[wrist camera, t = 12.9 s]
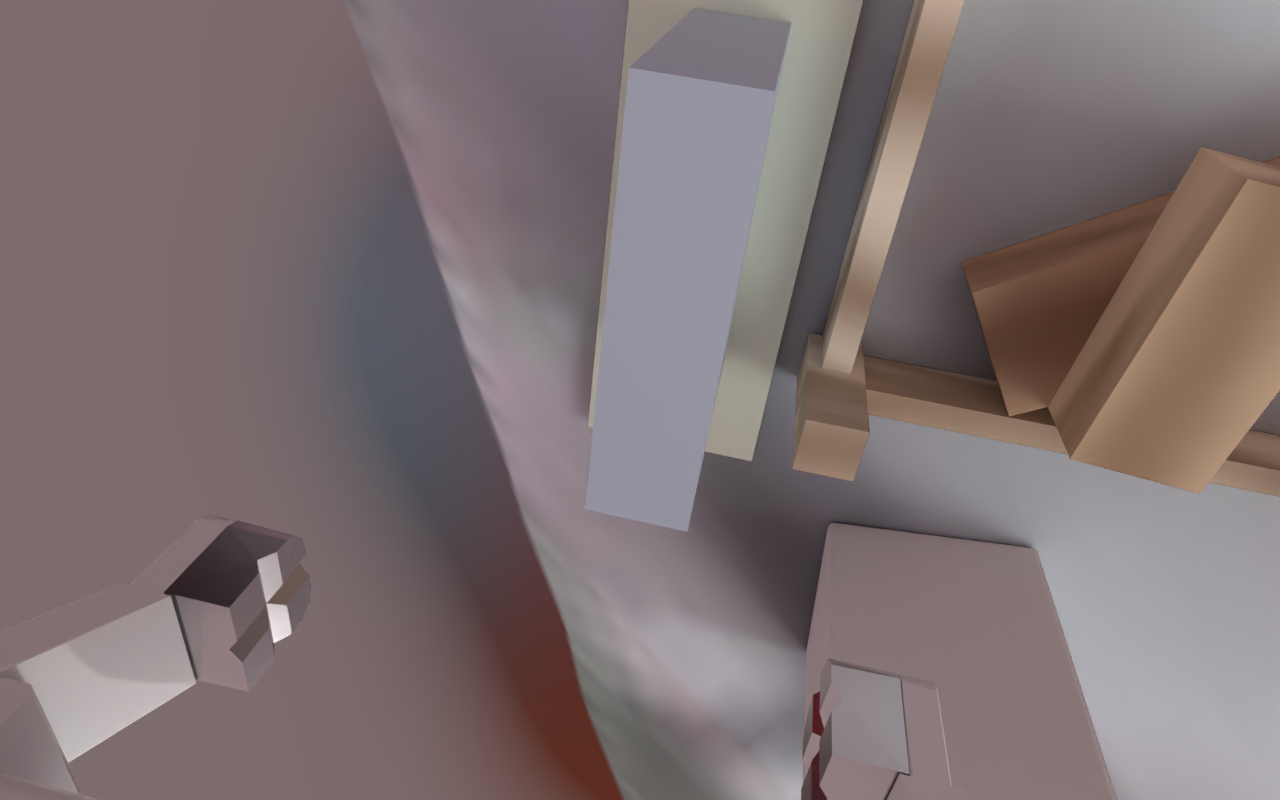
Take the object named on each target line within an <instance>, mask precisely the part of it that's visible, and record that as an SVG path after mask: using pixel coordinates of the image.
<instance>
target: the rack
mask: <svg viewBox="0 0 1280 800" xmlns="http://www.w3.org/2000/svg"><path fill="white" fill-rule="evenodd" d="M964 1H965V0H914V2H913V6H912V10H911V13H910V17H909V21H908V24H907V28H906V32H905V35H904V39H903V43H902V46H901V50H900V54H899V57H898V61H897V64H896V68H895V72H894V75H893V79H892V83H891V86H890V90H889V94H888V97H887V101H886V105H885V108H884V112H883V116H882V119H881V123H880V127H879V130H878V134H877V138H876V141H875V145H874V149H873V152H872V156H871V160H870V163H869V167H868V170H867V174H866V178H865V181H864V185H863V189H862V192H861V196H860V200H859V203H858V207H857V211H856V214H855V218H854V222H853V225H852V229H851V233H850V236H849V240H848V244H847V247H846V251H845V255H844V258H843V262H842V266H841V269H840V273H839V276H838V280H837V284H836V287H835V291H834V295H833V298H832V302H831V306H830V309H829V313H828V317H827V320H826V324H825V328H824V331H823V335H818V334H813V333H809V335H808V339H807V343H806V347H805V351H804V354H803V358H802V362H801V366H800V370H799V374H798V377H797V395H796V413H795V431H794V448H793V466H792V469H795V470H800V471H805V472H809V473H814V474H819V475H824V476H828V477H833V478H838V479H843V480H848V481H852V482H853V480H854V477H855V474H856V471H857V468H858V466H859V463H860V460H861V457H862V454H863V451H864V448H865V445H866V442H867V439H868V436H869V433H870V431H869V419H868V414H869V415H874V416H879V417H884V418H889V419H894V420H899V421H904V422H909V423H914V424H919V425H924V426H929V427H934V428H939V429H944V430H949V431H954V432H959V433H964V434H969V435H974V436H979V437H984V438H989V439H994V440H999V441H1004V442H1009V443H1014V444H1019V445H1024V446H1029V447H1034V448H1039V449H1044V450H1049V451H1054V452H1059V453H1064V454H1068V453H1067V450H1066V448H1065V446H1064V443H1063V441H1062V439H1061V436H1060V434H1059V432H1058V429H1057V427H1056V425H1055V422H1054V420H1053V418H1052V415H1051V413H1050V411H1049V408H1048V407H1045V408H1041V409H1037V410H1034V411H1030V412H1026V413H1022V414H1018V415H1014V416H1010V417H1009V415H1008V412H1007V409H1006V406H1005V403H1004V400H1003V398H1002V395H1001V392H1000V389H999V386H998V383H997V381H994V380H989V379H984V378H979V377H973V376H968V375H963V374H958V373H953V372H947V371H942V370H937V369H932V368H927V367H922V366H916V365H911V364H906V363H901V362H896V361H890V360H885V359H880V358H875V357H870V356H865V355H863V346H862V343H860V341H861V338H862V335H863V332H864V328H865V325H866V322H867V319H868V315H869V312H870V309H871V305H872V302H873V299H874V296H875V292H876V289H877V286H878V282H879V279H880V276H881V273H882V269H883V266H884V263H885V260H886V256H887V253H888V250H889V246H890V243H891V240H892V237H893V233H894V230H895V227H896V223H897V220H898V217H899V214H900V210H901V207H902V204H903V201H904V197H905V194H906V191H907V187H908V184H909V181H910V178H911V174H912V171H913V168H914V164H915V161H916V158H917V155H918V151H919V148H920V145H921V142H922V138H923V135H924V132H925V128H926V125H927V122H928V119H929V115H930V112H931V109H932V105H933V102H934V99H935V96H936V92H937V89H938V86H939V83H940V79H941V76H942V73H943V69H944V66H945V63H946V60H947V56H948V53H949V50H950V46H951V43H952V40H953V37H954V33H955V30H956V27H957V24H958V20H959V17H960V14H961V10H962V7H963V4H964ZM1209 483H1214V484H1219V485H1224V486H1229V487H1234V488H1239V489H1244V490H1249V491H1254V492H1259V493H1264V494H1269V495H1274V496H1279V497H1280V436H1279V435H1274V434H1269V433H1264V432H1258V431H1253V430H1249V431H1248V432H1247V433H1246V434H1245V436H1244V437H1243V438H1242V440H1241V441H1240V442H1239V443H1238V445H1237V446H1236V447H1235V449H1234V450H1233V451H1232V452H1231V454H1230V455H1229V456H1228V458H1227V459H1226V460H1225V461H1224V463H1223V464H1222V465H1221V467H1220V468H1219V469H1218V471H1217V472H1216V473H1215V474H1214V476H1213V477H1212V478H1211V480H1210V481H1209Z"/></svg>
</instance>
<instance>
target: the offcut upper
mask: <svg viewBox="0 0 1280 800" xmlns="http://www.w3.org/2000/svg"><path fill="white" fill-rule="evenodd" d="M1279 391H1280V166H1276V165H1272V164H1268V163H1264V162H1260V161H1255V160H1251V159H1247V158H1243V157H1239V156H1235V155H1231V154H1227V153H1223V152H1219V151H1215V150H1211V149H1207V148H1203V147H1201V148H1200V149H1199V151H1198V153H1197V155H1196V156H1195V158H1194V160H1193V161H1192V163H1191V165H1190V166H1189V168H1188V170H1187V172H1186V173H1185V175H1184V177H1183V178H1182V180H1181V182H1180V183H1179V185H1178V187H1177V189H1176V190H1175V192H1174V194H1173V195H1172V197H1171V199H1170V200H1169V202H1168V204H1167V206H1166V207H1165V209H1164V211H1163V212H1162V214H1161V216H1160V217H1159V219H1158V221H1157V223H1156V224H1155V226H1154V228H1153V229H1152V231H1151V233H1150V234H1149V236H1148V238H1147V240H1146V241H1145V243H1144V245H1143V246H1142V248H1141V250H1140V251H1139V253H1138V255H1137V257H1136V258H1135V260H1134V262H1133V263H1132V265H1131V267H1130V268H1129V270H1128V272H1127V274H1126V275H1125V277H1124V279H1123V280H1122V282H1121V284H1120V285H1119V287H1118V289H1117V291H1116V292H1115V294H1114V296H1113V297H1112V299H1111V301H1110V302H1109V304H1108V306H1107V307H1106V309H1105V311H1104V313H1103V314H1102V316H1101V318H1100V319H1099V321H1098V323H1097V324H1096V326H1095V328H1094V330H1093V331H1092V333H1091V335H1090V336H1089V338H1088V340H1087V341H1086V343H1085V345H1084V347H1083V348H1082V350H1081V352H1080V353H1079V355H1078V357H1077V358H1076V360H1075V362H1074V364H1073V365H1072V367H1071V369H1070V370H1069V372H1068V374H1067V375H1066V377H1065V379H1064V381H1063V382H1062V384H1061V386H1060V387H1059V389H1058V391H1057V392H1056V394H1055V396H1054V398H1053V399H1052V401H1051V403H1050V404H1049V406H1048V408H1049V411H1050V413H1051V415H1052V418H1053V420H1054V422H1055V425H1056V427H1057V429H1058V432H1059V434H1060V436H1061V439H1062V441H1063V443H1064V446H1065V448H1066V450H1067V453H1068V455H1069V457H1070V459H1073V460H1077V461H1080V462H1084V463H1088V464H1091V465H1095V466H1099V467H1103V468H1106V469H1110V470H1114V471H1117V472H1121V473H1125V474H1128V475H1132V476H1136V477H1139V478H1143V479H1147V480H1151V481H1154V482H1158V483H1162V484H1165V485H1169V486H1173V487H1176V488H1180V489H1184V490H1188V491H1191V492H1195V493H1199V494H1200V492H1201V491H1202V490H1203V489H1204V487H1205V486H1206V485H1207V483H1208V482H1209V481H1210V480H1211V478H1212V477H1213V476H1214V474H1215V473H1216V472H1217V471H1218V469H1219V468H1220V467H1221V465H1222V464H1223V463H1224V461H1225V460H1226V459H1227V458H1228V456H1229V455H1230V454H1231V452H1232V451H1233V450H1234V449H1235V447H1236V446H1237V445H1238V443H1239V442H1240V441H1241V440H1242V438H1243V437H1244V436H1245V434H1246V433H1247V432H1248V431H1249V429H1250V428H1251V427H1252V425H1253V424H1254V423H1255V422H1256V420H1257V419H1258V418H1259V416H1260V415H1261V414H1262V413H1263V411H1264V410H1265V409H1266V407H1267V406H1268V405H1269V404H1270V402H1271V401H1272V400H1273V398H1274V397H1275V396H1276V395H1277V393H1278V392H1279Z"/></svg>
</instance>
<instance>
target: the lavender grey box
mask: <svg viewBox="0 0 1280 800" xmlns="http://www.w3.org/2000/svg"><path fill="white" fill-rule="evenodd" d="M791 24H792V23H791V22H784V21H778V20H771V19H765V18H758V17H752V16H745V15H739V14H732V13H726V12H719V11H713V10H706V9H700V8H694V9H693V10H692V11H690V12H689V13H688V14H687V15H686V16H685V17H684V18H683V19H682V20H681V21H680V22H678V23H677V24H676V25H675V26H674V27H673V28H672V29H671V30H670V31H669V32H667V33H666V34H665V35H664V36H663V37H662V38H661V39H660V40H659V41H658V42H656V43H655V44H654V45H653V46H652V47H651V48H650V49H649V50H648V51H647V52H646V53H644V54H643V55H642V56H641V57H640V58H639V59H638V60H637V61H636V62H635V63H633V64H632V65H631V66H630V67H629V72H628V82H627V92H626V102H625V112H624V122H623V132H622V142H621V152H620V162H619V172H618V182H617V192H616V202H615V211H614V221H613V231H612V241H611V251H610V261H609V271H608V281H607V291H606V301H605V311H604V321H603V331H602V341H601V351H600V361H599V371H598V381H597V391H596V401H595V411H594V421H593V431H592V441H591V451H590V461H589V471H588V481H587V491H586V501H585V510H589V511H594V512H598V513H603V514H607V515H612V516H616V517H621V518H626V519H630V520H635V521H639V522H644V523H648V524H653V525H658V526H662V527H667V528H671V529H676V530H680V531H685V532H688V527H689V522H690V518H691V513H692V508H693V504H694V499H695V494H696V490H697V485H698V480H699V475H700V471H701V466H702V461H703V457H704V452H705V447H706V443H707V438H708V433H709V429H710V424H711V419H712V415H713V410H714V405H715V401H716V396H717V391H718V387H719V382H720V377H721V373H722V368H723V363H724V358H725V353H726V348H727V343H728V338H729V333H730V328H731V323H732V318H733V313H734V308H735V303H736V298H737V293H738V288H739V283H740V279H741V274H742V269H743V264H744V259H745V254H746V249H747V244H748V239H749V234H750V229H751V224H752V219H753V214H754V209H755V204H756V199H757V194H758V189H759V184H760V179H761V174H762V169H763V164H764V159H765V154H766V149H767V144H768V139H769V134H770V129H771V124H772V119H773V114H774V109H775V104H776V99H777V94H778V89H779V84H780V79H781V74H782V69H783V64H784V59H785V54H786V49H787V44H788V39H789V34H790V29H791Z"/></svg>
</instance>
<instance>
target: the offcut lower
mask: <svg viewBox="0 0 1280 800" xmlns="http://www.w3.org/2000/svg"><path fill="white" fill-rule="evenodd" d="M1264 163H1268V164H1272V165H1276V166H1280V157H1278V158H1275V159H1272V160H1269V161H1266V162H1264ZM1173 194H1174V192H1172V193H1169V194H1166V195H1163V196H1160V197H1157V198H1154V199H1151V200H1148V201H1145V202H1141V203H1138V204H1135V205H1132V206H1129V207H1126V208H1123V209H1120V210H1117V211H1114V212H1111V213H1108V214H1105V215H1102V216H1099V217H1096V218H1093V219H1090V220H1087V221H1084V222H1081V223H1078V224H1075V225H1072V226H1069V227H1065V228H1062V229H1059V230H1056V231H1053V232H1050V233H1047V234H1044V235H1041V236H1038V237H1035V238H1032V239H1029V240H1026V241H1023V242H1020V243H1017V244H1014V245H1011V246H1008V247H1005V248H1002V249H999V250H996V251H993V252H989V253H986V254H983V255H980V256H977V257H974V258H971V259H968V260H965V261H962V262H961V264H962V267H963V270H964V274H965V277H966V280H967V284H968V287H969V290H970V294H971V297H972V300H973V304H974V307H975V310H976V314H977V317H978V320H979V324H980V327H981V330H982V334H983V337H984V340H985V344H986V347H987V350H988V354H989V357H990V360H991V364H992V367H993V370H994V374H995V377H996V380H997V383H998V386H999V389H1000V392H1001V395H1002V398H1003V400H1004V403H1005V406H1006V409H1007V412H1008V415H1009V417H1010V416H1014V415H1018V414H1022V413H1026V412H1030V411H1034V410H1037V409H1041V408H1045V407H1048V406H1049V404H1050V403H1051V401H1052V399H1053V398H1054V396H1055V394H1056V392H1057V391H1058V389H1059V387H1060V386H1061V384H1062V382H1063V381H1064V379H1065V377H1066V375H1067V374H1068V372H1069V370H1070V369H1071V367H1072V365H1073V364H1074V362H1075V360H1076V358H1077V357H1078V355H1079V353H1080V352H1081V350H1082V348H1083V347H1084V345H1085V343H1086V341H1087V340H1088V338H1089V336H1090V335H1091V333H1092V331H1093V330H1094V328H1095V326H1096V324H1097V323H1098V321H1099V319H1100V318H1101V316H1102V314H1103V313H1104V311H1105V309H1106V307H1107V306H1108V304H1109V302H1110V301H1111V299H1112V297H1113V296H1114V294H1115V292H1116V291H1117V289H1118V287H1119V285H1120V284H1121V282H1122V280H1123V279H1124V277H1125V275H1126V274H1127V272H1128V270H1129V268H1130V267H1131V265H1132V263H1133V262H1134V260H1135V258H1136V257H1137V255H1138V253H1139V251H1140V250H1141V248H1142V246H1143V245H1144V243H1145V241H1146V240H1147V238H1148V236H1149V234H1150V233H1151V231H1152V229H1153V228H1154V226H1155V224H1156V223H1157V221H1158V219H1159V217H1160V216H1161V214H1162V212H1163V211H1164V209H1165V207H1166V206H1167V204H1168V202H1169V200H1170V199H1171V197H1172V195H1173Z"/></svg>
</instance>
